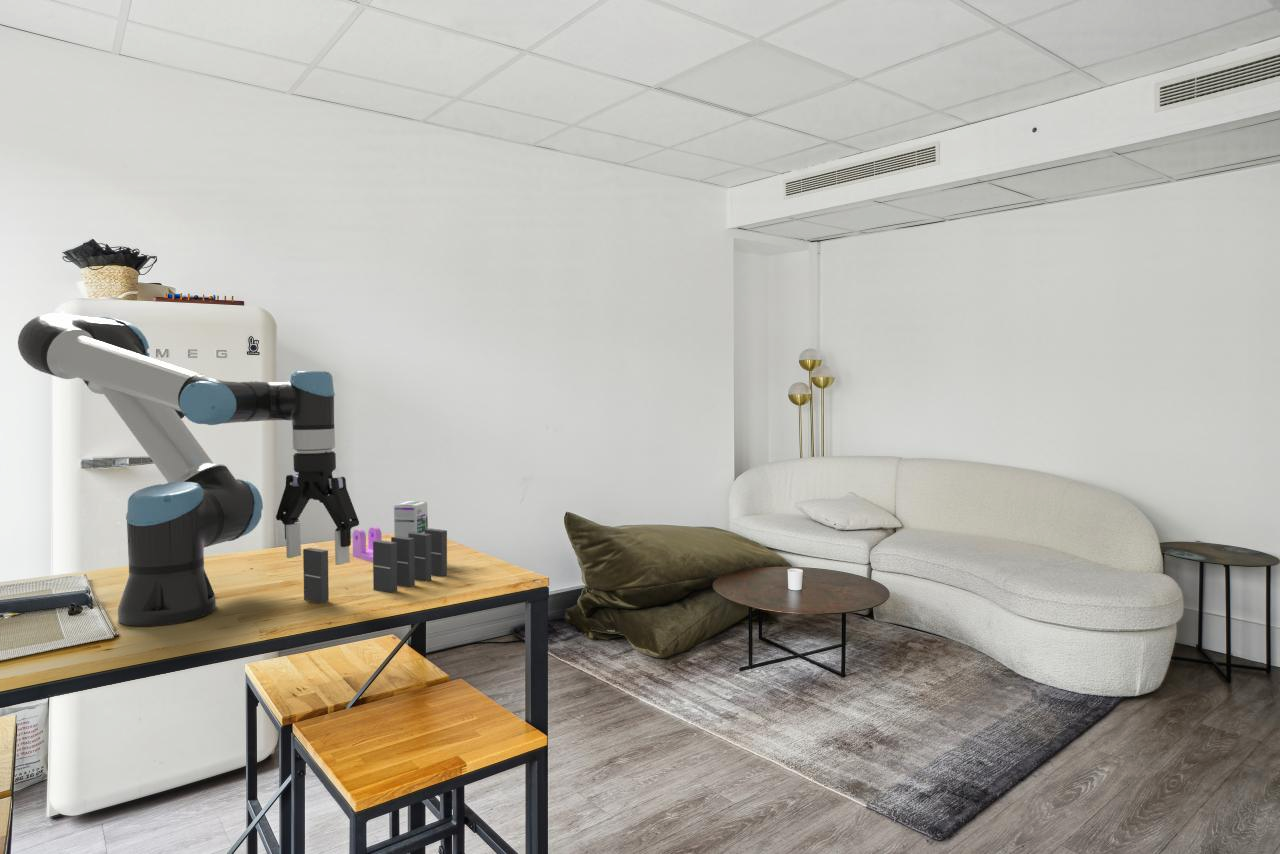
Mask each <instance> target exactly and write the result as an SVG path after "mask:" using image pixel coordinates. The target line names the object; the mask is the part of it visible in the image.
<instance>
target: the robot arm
mask: <svg viewBox="0 0 1280 854" xmlns="http://www.w3.org/2000/svg"><path fill="white" fill-rule="evenodd" d="M17 346H18V347H17V348H18V351H19V353H20V356H21V358H22V359H23V360H24V362H25V363H27V365H29V366H30V367H31V368H32V369H35V370H36V371H39V372H42V373H44V374H47V375H51V376H54V377H57V378H59V379H63V380H72V379H76V378H78V379H81V380H83V382H84V384H85V385H86V386H87V388H88V389H89V391H91V393H94V394H98V395H104V397H105V398H106V399H107V400H108V402H109V403H110V404H111V406H112V408H113V409H114V410H115V412H117V414H118V416H119V418H121V419H122V421H123V422H124V424H125V425H126V426H127V428H128V429H129V431H130V432H131V434H132V435H133V437H135V439H136V440H137V441H138V444H139V445H140V446H141V448H143V450H144V451H145V453H146V454H147V455H148V456H149V458H150V459H151V461H152V462H153V464H154V465H155V466H156V468H157V470H159V472H160V474H162V476H163V477H164V478H165V480H166V481H167V482H166V483H163V484H161V483H160V484H154V485H151V486H150V485H149V486H146V487H143V488H141V489H140V488H139V489H138V490H136V491H134V492H133V493H132V494H131V495H130V496H129V497H128V499H127V512H126V515H125V520H126V530H127V551H128V552H127V553H128V555H127V557H128V579H127V580H126V584H125V587H124V589H123V593H122V596H121V599H120V600H119V601H120V602H119V605H118V607H117V613H118V614H117V619H118V622H119V623H120V624H123V625H126V626H133V627H134V626H135V627H151V626H152V627H153V626H154V627H155V626H163V625H164V626H165V625H172V624H173V625H174V624H178V623H184V622H189V621H192V620H195V619H200V618H202V617H205V616H208V615H209V614H212V613H213V612H214V611H215V610H216V608H217V606H216V604H217V603H216V595H215V592H214V590H213V587H212V585H211V582H210V579H209V578H208V575H207V573H206V569H205V558H204V556H205V553H204V552H205V551H204V550H205V549H204V548H208V547H210V546H211V547H212V546H214V545H219V544H222V543H225V542H231V541H235V540H237V539H239V538H241V537H244V536H246V535H248V534H250V533H251V532H252V531H254V530H255V529H256V527H257V526H258V525H259V523H260V521H261V519H262V511H263V509H264V506H263V504H264V503H263V498H262V495H261V492H260V491H259V489H258V488H257V486H256V485H254V484H253V483H252V482H250V481H248V480H244V479H239V478H238V479H237V478H236V477H235V476H234V475H233V473H231V471H230V469H229V468H228V466H226V465H225V464H221V463H215V462H213V461H212V459H211V458H210V457H209V455H208V454H207V452H206V451H205V450H204V448H203V447H202V445H201V444H200V443H199V442H198V440H197V438H196V437H195V436H194V435H193V433H192V432H191V430H190V429H189V428H188V427H187V425H186V423H184V421H183V420H182V418H181V417H180V415H179V414H178V413H177V411H178V412H181V413H182V414H183V416H184V417H186V419H187V420H188V421H189V422H192V423H195V424H198V425H209V426H217V425H220V424H234V423H248V422H259V421H260V422H261V421H262V422H263V421H265V422H266V421H292V422H291V423H292V424H291V425H292V449H293V451H296V452H295V453H294V454H293V455H292V456H293V457H292V458H293V471H294V472H295V473H294V474H287V475H286V476H285V487H284V490H283V493H282V497H281V500H280V502H279V505H278V509H277V512H276V515H275V519H276V521H281V522H282V524H283V525H284V538H285V544H286V545H285V546H286V547H285V548H286V559H292V558H296V557H300V556H302V550H301V549H302V547H301V545H302V543H301V542H302V541H301V523H300V520H299V517H300V516H301V514H302V513H303V511H304V509H305V508H306V506H307V504H308V503H309V501H310V500H313V501H319V503H321V504H323V506H324V508H325V509H326V511H327V513H328V514H329V516H330V517H331V520H332V521H333V523H334V524H335V526H336V528H335V530H334V553H335V554H334V555H335V565H336V566H340V565H344V564H347V563H351V562H350V561H351V560H350V559H351V558H350V547H351V544H352V537H351V536H352V534H351V533H352V531H351V529H352V528H355V527H358V526H359V525H360V520H359V517H358V515H357V513H356V510H355V506H354V505H353V503H352V499H351V496H350V494H349V492H348V489H347V482H346V480H347V479H346V478H345V477H344V476H338V477H334V476H333V471H335V470H336V469H337V461H336V460H337V458H336V457H337V455H336V453H335V451H333V449H335V448H336V433H335V396H336V395H335V394H336V393H335V391H334V390H335V389H334V380H333V379H334V377H333V375H332V373H330V372H329V371H327V370H326V371H323V370H321V371H320V370H303V371H302V370H300V371H296V370H295V371H293V372H292V373H291V374H290V379H289V381H253V380H251V381H230V380H229V381H226V380H220V379H217V378H214V377H211V376H208V375H204V374H203V373H198V372H195V371H194V370H191V369H187V368H184V367H180V366H177V365H174V364H171V363H168V362H165V361H162V360H159V359H156V358H154V357H150V352H149V351H148V349H150V345H149V342H148V339H147V338H146V336H145V335H144V333H143V332H142V330H140V329H139V328H138V327H137V326H135V325H133V324H132V323H130V322H128V321H125V320H120V319H117V318H114V317H105V316H104V317H103V316H102V317H94V316H87V315H85V316H84V315H75V314H69V313H59V312H55V313H46V314H42V315H39V316H36V317H35V318H33V319H30V321H28V322H26V324H25V325H24V326H23V327H22V328H21V330H20V332H19V335H18V339H17Z"/></svg>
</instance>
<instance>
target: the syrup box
mask: <svg viewBox="0 0 1280 854" xmlns="http://www.w3.org/2000/svg"><path fill="white" fill-rule="evenodd" d="M428 517H429V516H428V502H426V501H419V500H413V501H408V500H407V501H406V500H405V502H401V503H397V504H394V505H393V524H394V525H393V528H394V529H393V530H394V531H393V532H394V533H393V535H394V537H395V536H401V537H408V533H412V532H417V533H425V529H429V528H428V527H429V525H428V524H429V521H428Z"/></svg>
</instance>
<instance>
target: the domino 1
mask: <svg viewBox="0 0 1280 854" xmlns="http://www.w3.org/2000/svg"><path fill="white" fill-rule="evenodd" d="M302 554H303V558H302V560H303V564H302V565H303V600H304V601H307V600H309V601H308V602H314V603H317V602H318V604H325V603H328V602H329V601H330V600H329V598H330V597H329V550H327V549H321V548H320V549H319V548H314V547H308V548H307V547H306V548H303V549H302Z"/></svg>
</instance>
